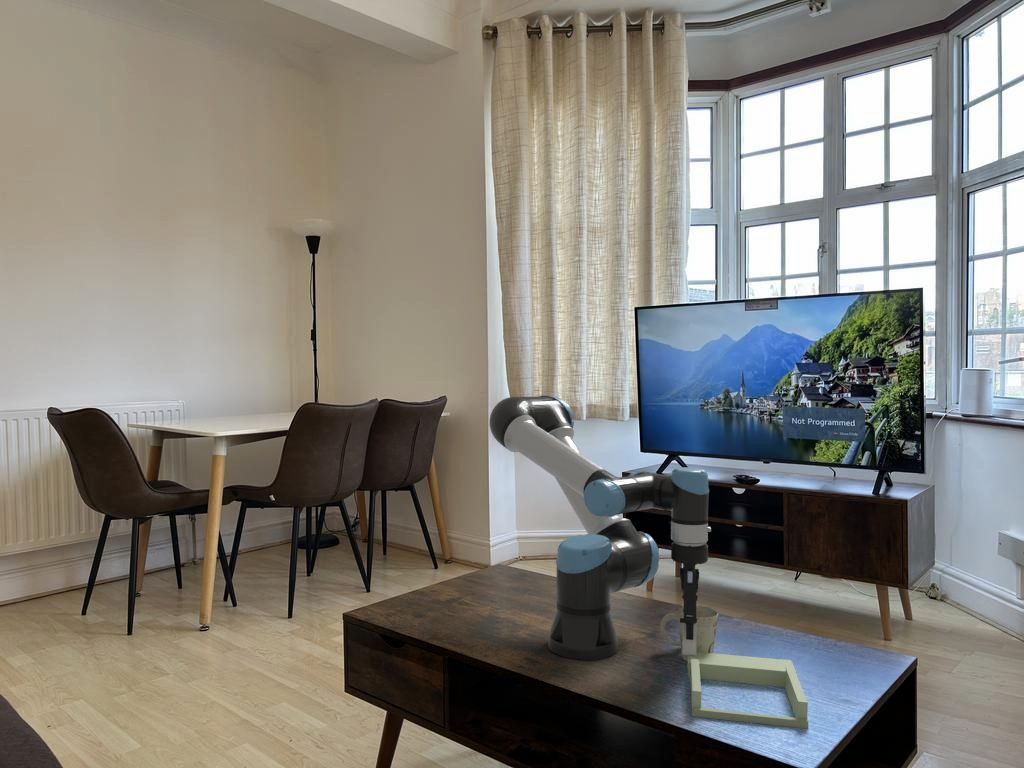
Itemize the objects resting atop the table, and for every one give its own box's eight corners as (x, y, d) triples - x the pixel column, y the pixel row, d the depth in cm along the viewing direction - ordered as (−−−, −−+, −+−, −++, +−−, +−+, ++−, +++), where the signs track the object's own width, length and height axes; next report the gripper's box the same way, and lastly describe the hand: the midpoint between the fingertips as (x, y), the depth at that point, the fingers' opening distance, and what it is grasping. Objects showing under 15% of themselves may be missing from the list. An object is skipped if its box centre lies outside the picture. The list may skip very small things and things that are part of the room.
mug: (710, 670, 149) (711, 620, 149) (651, 656, 156) (652, 609, 156) (722, 656, 156) (723, 609, 156) (665, 644, 163) (666, 599, 163)
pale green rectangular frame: (689, 715, 129) (689, 693, 129) (687, 665, 151) (687, 646, 151) (811, 728, 125) (811, 705, 125) (791, 675, 147) (791, 655, 147)
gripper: (710, 557, 143) (709, 666, 143) (705, 530, 167) (704, 624, 167) (670, 555, 144) (670, 663, 144) (671, 529, 169) (670, 621, 169)
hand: (688, 643), depth 156 cm, fingers open, 13 cm apart
